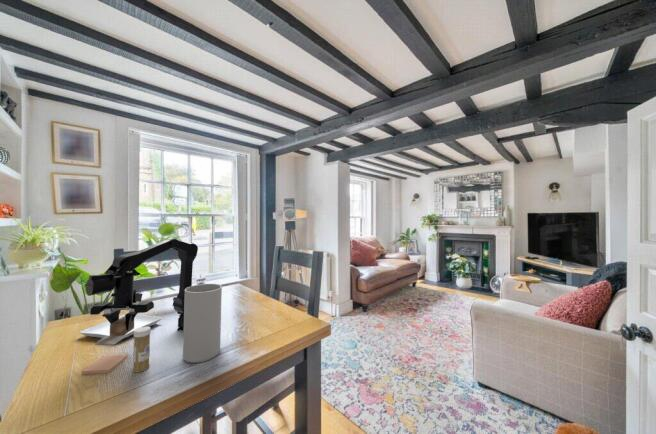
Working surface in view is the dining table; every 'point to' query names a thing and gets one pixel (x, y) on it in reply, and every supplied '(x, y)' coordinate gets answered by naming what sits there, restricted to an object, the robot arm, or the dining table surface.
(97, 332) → the salad plate
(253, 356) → the dining table surface
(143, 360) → the sprinkles bottle
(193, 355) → the cylinder vase
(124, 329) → the tall cardboard box
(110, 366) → the ceramic tile
